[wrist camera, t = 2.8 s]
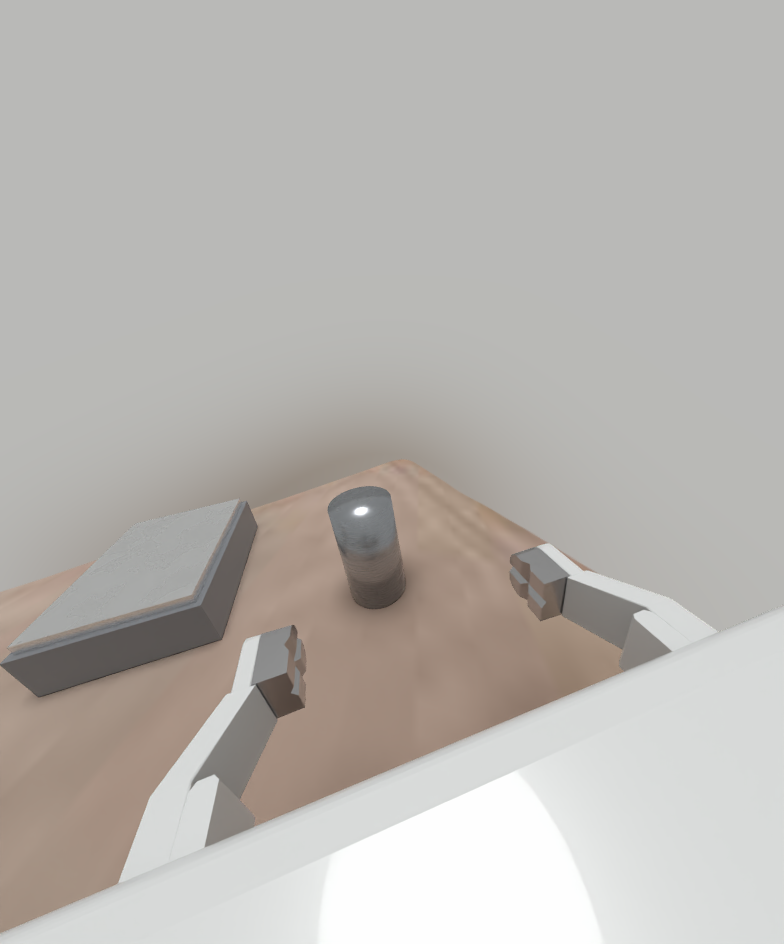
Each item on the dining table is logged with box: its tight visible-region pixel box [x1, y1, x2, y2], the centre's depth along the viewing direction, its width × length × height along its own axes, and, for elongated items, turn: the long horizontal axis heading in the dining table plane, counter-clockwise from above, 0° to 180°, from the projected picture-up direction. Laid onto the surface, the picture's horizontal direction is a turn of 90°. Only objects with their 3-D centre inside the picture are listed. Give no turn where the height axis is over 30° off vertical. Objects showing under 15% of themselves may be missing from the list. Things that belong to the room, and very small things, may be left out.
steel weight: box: [328, 486, 406, 609], centre depth 24 cm, size 5×5×9 cm
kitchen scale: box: [0, 499, 257, 697], centre depth 29 cm, size 13×18×5 cm
